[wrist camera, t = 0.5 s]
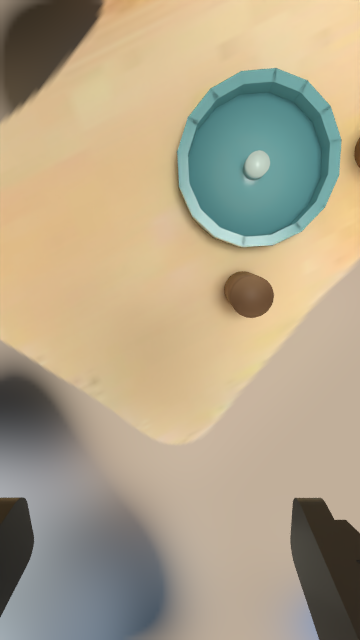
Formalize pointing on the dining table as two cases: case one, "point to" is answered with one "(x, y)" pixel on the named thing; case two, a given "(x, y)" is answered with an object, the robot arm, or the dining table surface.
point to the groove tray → (265, 130)
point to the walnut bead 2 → (357, 153)
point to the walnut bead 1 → (249, 294)
